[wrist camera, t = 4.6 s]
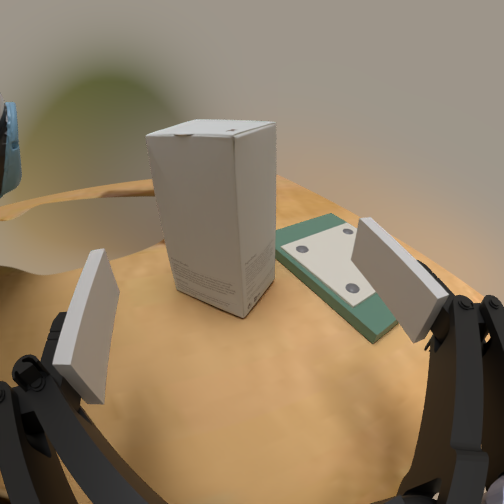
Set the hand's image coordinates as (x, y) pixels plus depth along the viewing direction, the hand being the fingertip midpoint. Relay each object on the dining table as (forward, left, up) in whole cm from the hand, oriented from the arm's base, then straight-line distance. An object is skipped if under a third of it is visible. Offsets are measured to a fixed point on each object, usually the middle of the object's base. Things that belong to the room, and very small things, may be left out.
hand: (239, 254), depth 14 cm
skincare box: (+9, +5, -11) cm, 15 cm away
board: (+16, -7, -11) cm, 20 cm away
